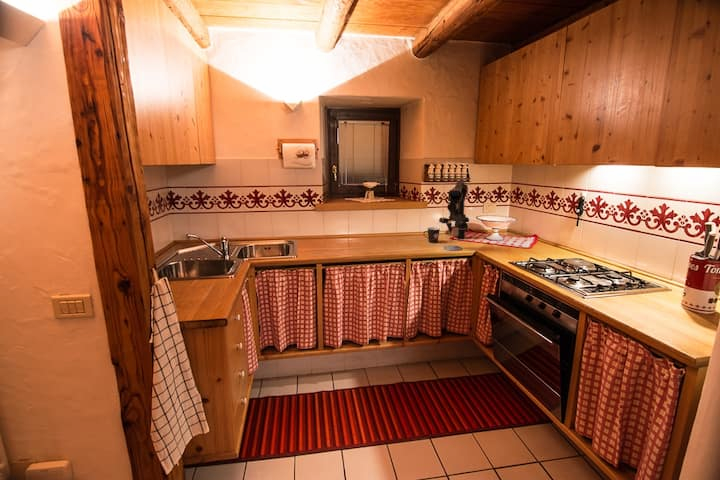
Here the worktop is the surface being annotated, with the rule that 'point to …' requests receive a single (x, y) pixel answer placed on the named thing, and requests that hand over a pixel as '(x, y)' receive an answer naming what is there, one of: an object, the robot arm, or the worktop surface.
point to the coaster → (452, 248)
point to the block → (454, 231)
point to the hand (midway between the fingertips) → (453, 232)
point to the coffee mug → (433, 234)
